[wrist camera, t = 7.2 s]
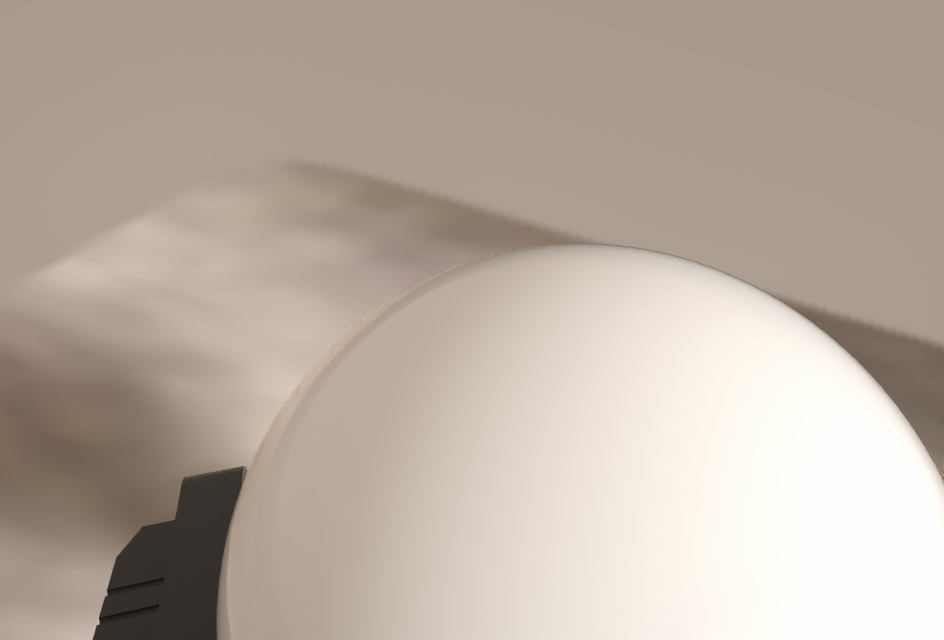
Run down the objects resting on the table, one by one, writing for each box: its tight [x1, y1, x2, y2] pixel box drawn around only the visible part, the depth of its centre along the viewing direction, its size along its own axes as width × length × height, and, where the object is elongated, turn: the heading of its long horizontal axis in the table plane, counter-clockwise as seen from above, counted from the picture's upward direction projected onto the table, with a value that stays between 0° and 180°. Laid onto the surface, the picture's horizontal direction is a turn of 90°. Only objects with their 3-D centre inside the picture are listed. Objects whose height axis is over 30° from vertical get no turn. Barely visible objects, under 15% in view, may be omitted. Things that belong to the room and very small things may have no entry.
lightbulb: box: [216, 243, 944, 640], centre depth 9 cm, size 6×6×11 cm
